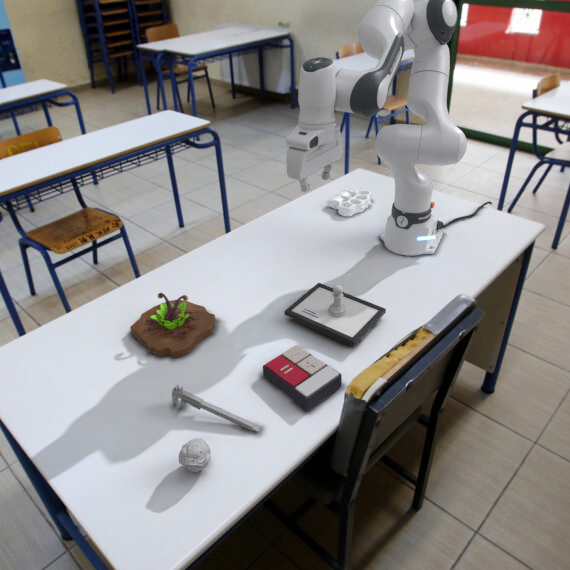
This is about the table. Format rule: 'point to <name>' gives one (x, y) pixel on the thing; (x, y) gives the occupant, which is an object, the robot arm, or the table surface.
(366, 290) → the table surface
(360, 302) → the whiteboard
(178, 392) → the caliper
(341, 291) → the chess piece
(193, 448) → the frog figurine
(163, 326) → the plant
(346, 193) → the white egg carton
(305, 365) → the calculator
